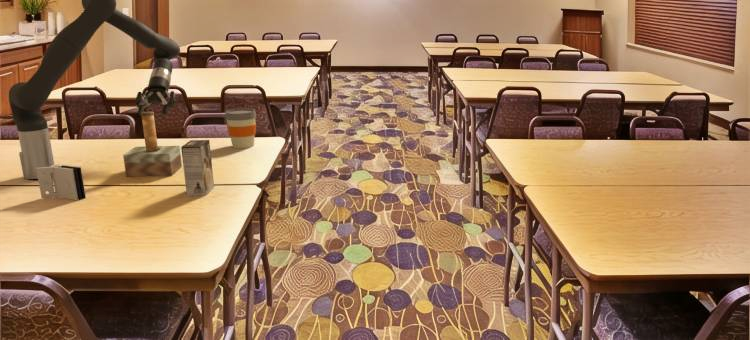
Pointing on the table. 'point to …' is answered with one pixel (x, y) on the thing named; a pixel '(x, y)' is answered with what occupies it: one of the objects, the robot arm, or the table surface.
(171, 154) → the square hole block
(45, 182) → the hinge
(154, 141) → the key peg
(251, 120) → the reusable coffee cup
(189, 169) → the coffee box
